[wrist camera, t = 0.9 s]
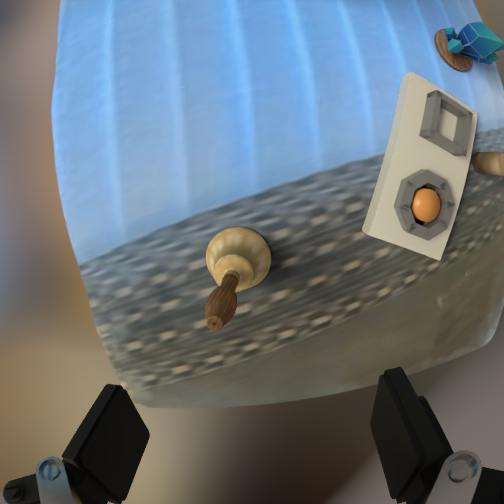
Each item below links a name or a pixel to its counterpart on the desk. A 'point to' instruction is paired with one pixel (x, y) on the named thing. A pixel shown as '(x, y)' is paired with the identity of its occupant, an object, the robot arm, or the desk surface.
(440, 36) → the gemstone
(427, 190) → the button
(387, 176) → the panel
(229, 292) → the hand bell
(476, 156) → the wooden cylinder rod
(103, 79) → the desk surface
